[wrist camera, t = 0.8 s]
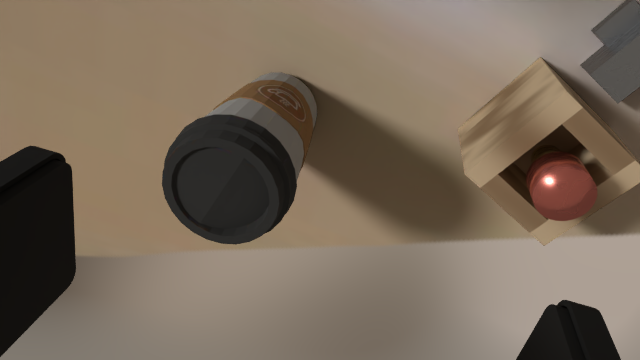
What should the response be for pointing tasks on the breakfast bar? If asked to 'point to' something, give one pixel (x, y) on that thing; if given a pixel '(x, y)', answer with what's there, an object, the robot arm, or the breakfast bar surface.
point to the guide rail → (617, 52)
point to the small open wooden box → (534, 131)
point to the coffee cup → (241, 160)
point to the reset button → (559, 184)
